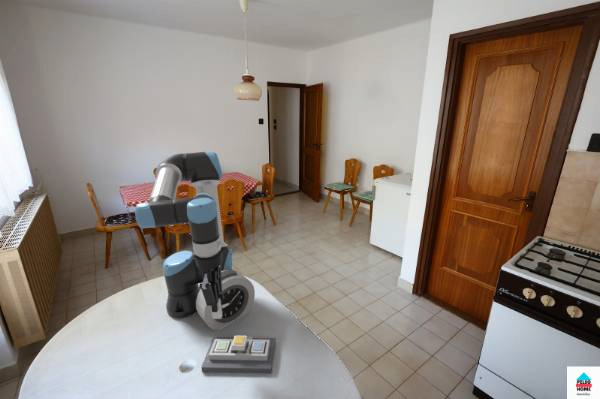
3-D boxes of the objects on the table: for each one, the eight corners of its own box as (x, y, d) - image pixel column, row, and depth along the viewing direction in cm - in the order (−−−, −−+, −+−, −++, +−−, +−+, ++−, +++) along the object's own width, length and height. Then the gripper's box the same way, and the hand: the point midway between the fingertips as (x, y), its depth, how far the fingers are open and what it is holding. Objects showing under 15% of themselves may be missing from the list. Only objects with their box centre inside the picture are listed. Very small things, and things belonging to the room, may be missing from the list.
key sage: (214, 355, 91) (213, 350, 90) (218, 345, 95) (217, 340, 94) (226, 355, 91) (226, 350, 90) (230, 345, 95) (229, 340, 94)
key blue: (251, 356, 91) (250, 350, 90) (253, 346, 94) (253, 340, 94) (263, 356, 90) (263, 351, 90) (265, 346, 94) (264, 341, 93)
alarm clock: (207, 336, 102) (200, 290, 95) (198, 325, 107) (191, 281, 101) (256, 308, 115) (252, 266, 109) (246, 299, 121) (242, 259, 114)
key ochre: (232, 350, 90) (231, 344, 89) (235, 340, 94) (234, 334, 93) (244, 350, 90) (243, 344, 89) (247, 340, 94) (246, 335, 93)
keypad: (202, 371, 88) (200, 362, 87) (214, 341, 100) (213, 332, 98) (271, 373, 87) (270, 363, 86) (276, 342, 99) (275, 333, 97)
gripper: (213, 263, 74) (223, 333, 82) (227, 240, 87) (234, 303, 94) (185, 263, 75) (198, 333, 83) (203, 240, 87) (212, 302, 95)
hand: (217, 317), depth 89 cm, fingers closed
